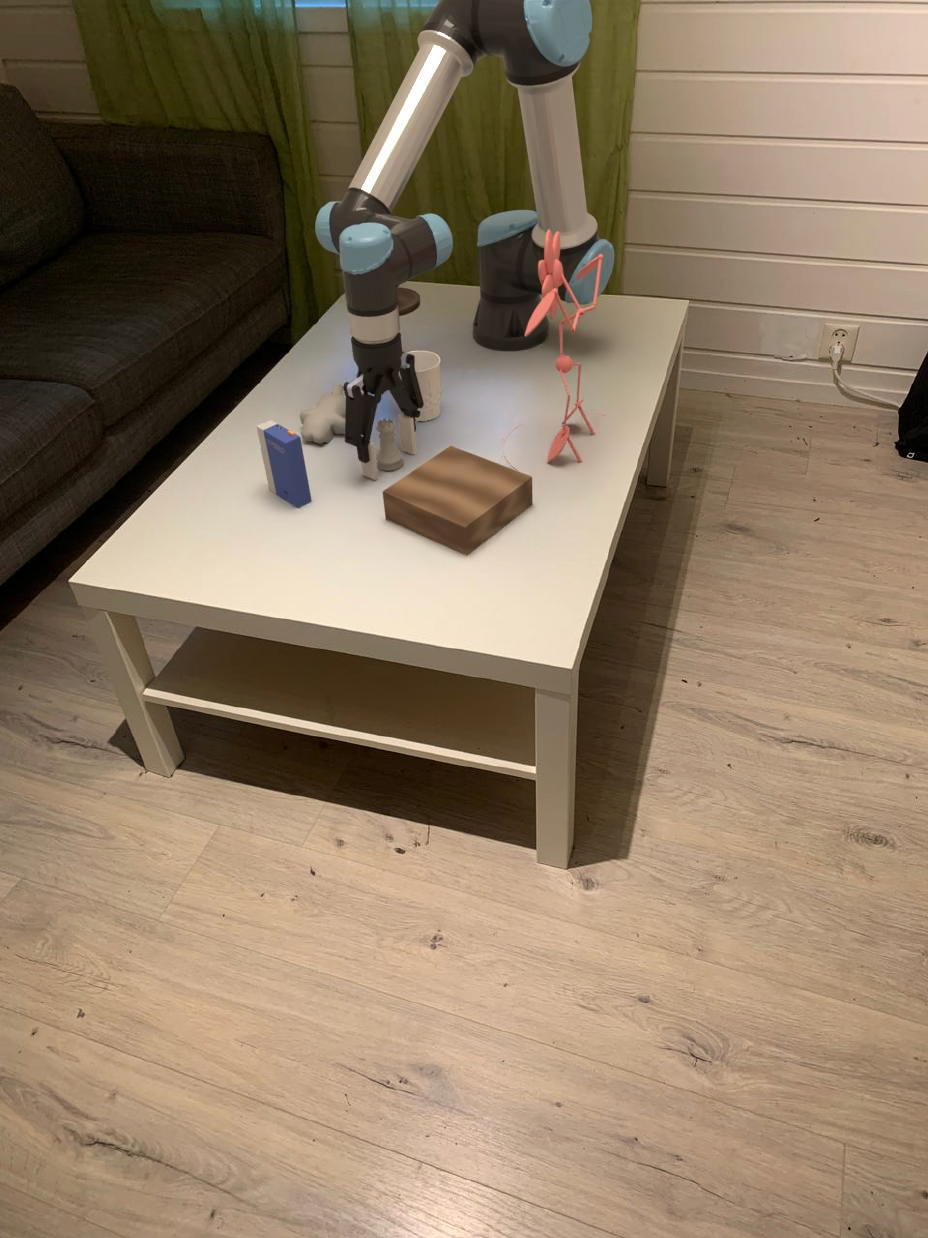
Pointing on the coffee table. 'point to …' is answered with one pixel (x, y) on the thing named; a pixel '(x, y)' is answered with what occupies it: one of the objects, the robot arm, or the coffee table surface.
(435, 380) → the white cup
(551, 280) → the figurine
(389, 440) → the rook chess piece
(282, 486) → the walkman
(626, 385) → the coffee table surface
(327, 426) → the bunny figurine
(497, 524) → the walnut base
